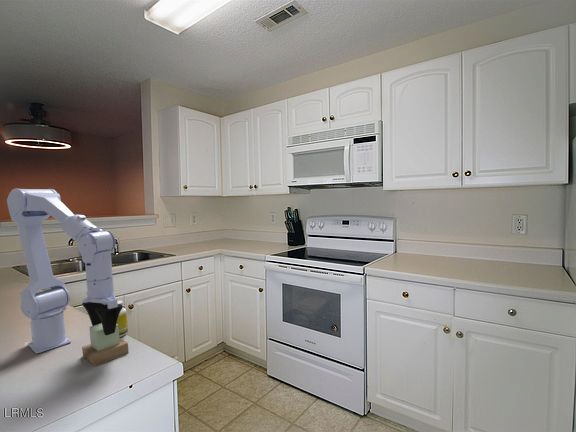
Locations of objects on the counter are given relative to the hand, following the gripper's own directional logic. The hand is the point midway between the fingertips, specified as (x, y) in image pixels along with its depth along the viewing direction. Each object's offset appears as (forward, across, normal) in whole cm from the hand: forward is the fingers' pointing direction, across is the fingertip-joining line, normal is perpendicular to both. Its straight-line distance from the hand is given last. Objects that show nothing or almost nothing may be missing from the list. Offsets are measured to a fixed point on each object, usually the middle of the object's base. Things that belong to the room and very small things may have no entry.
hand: (103, 330), depth 79 cm
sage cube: (+4, 0, 0) cm, 4 cm away
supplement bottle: (+7, -10, +7) cm, 14 cm away
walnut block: (+7, 0, 0) cm, 7 cm away
